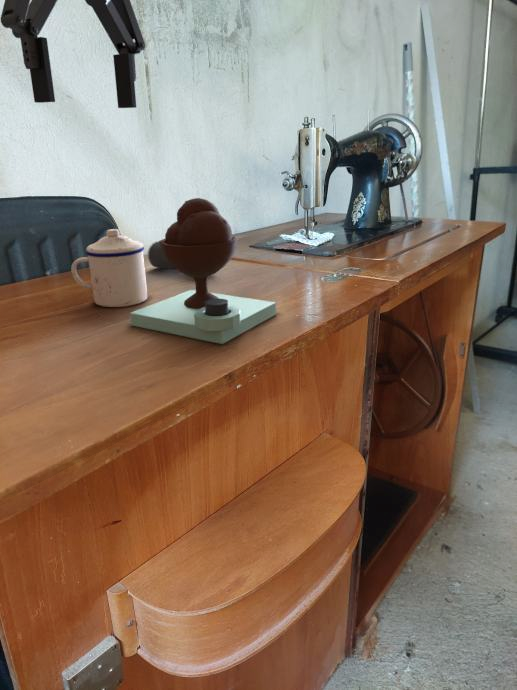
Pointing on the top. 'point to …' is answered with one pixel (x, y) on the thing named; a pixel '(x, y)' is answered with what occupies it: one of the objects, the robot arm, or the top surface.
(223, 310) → the tare button
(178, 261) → the ice cream bowl
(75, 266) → the teacup with lid
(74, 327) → the top surface
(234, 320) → the scale
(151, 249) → the flashlight
